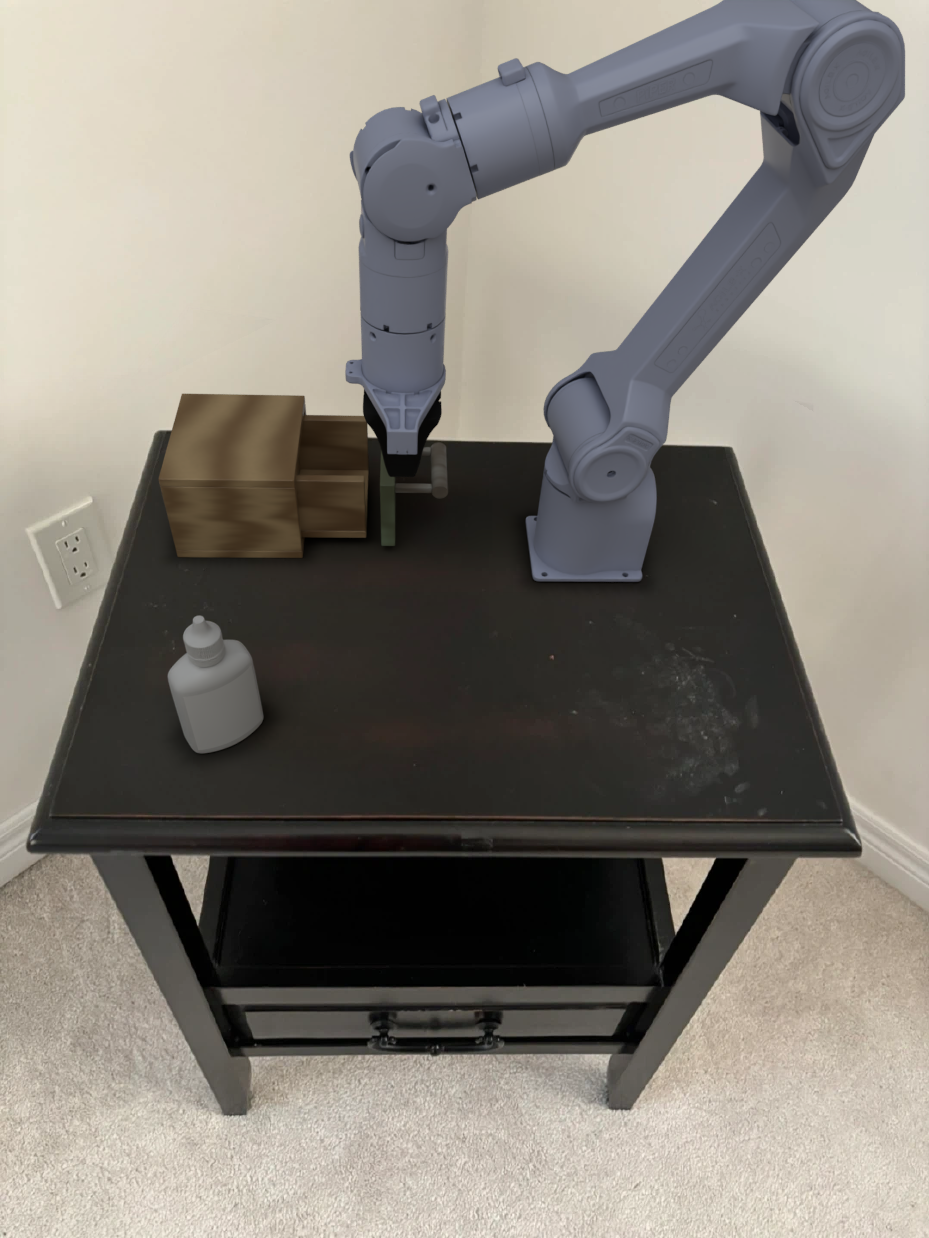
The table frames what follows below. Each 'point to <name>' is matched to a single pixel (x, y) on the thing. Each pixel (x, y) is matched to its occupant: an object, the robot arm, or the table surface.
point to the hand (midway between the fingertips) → (401, 471)
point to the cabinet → (234, 476)
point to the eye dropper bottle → (214, 689)
